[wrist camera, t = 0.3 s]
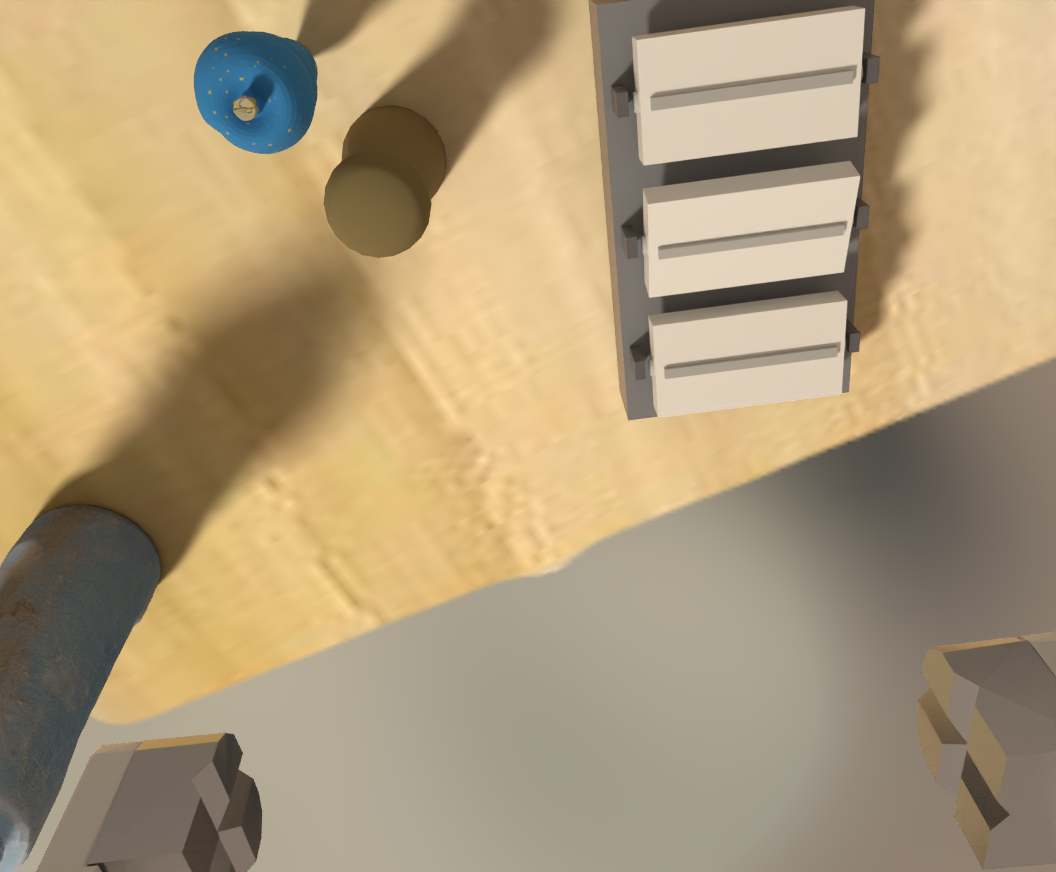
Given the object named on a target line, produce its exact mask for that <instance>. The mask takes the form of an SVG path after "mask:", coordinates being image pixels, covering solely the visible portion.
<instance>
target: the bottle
mask: <svg viewBox="0 0 1056 872" xmlns="http://www.w3.org/2000/svg"><path fill="white" fill-rule="evenodd" d="M160 574H161V566H160V557H159V555H158V552H157V550H156V548H155V546H154V544H153V542H152V541H151V540H150V539H149V538H148V536H147V534H145V533H144V532H143V531H142V530H141V529H140V528H139V527H138V526H136V525H135V524H133V523H132V522H131V521H129V520H128V519H126V518H124V517H123V516H121V515H119V514H117V513H114V512H112V511H109V510H105V509H102V508H99V507H93V506H88V505H71V506H63V507H60V508H57V509H54V510H51V511H49V512H46V513H44V514H42V515H41V516H40V517H38V518H37V519H36V520H35V521H33V523H32V524H31V525H30V526H29V527H28V528H27V529H26V530H25V532H24V533H23V534H22V536H21V537H20V539H19V540H18V541H17V542H16V544H15V545H14V546H13V547H12V549H11V550H10V552H9V553H8V555H7V556H6V558H5V559H4V561H3V563H2V565H1V567H0V872H14V871H16V870H17V869H18V868H19V867H20V866H21V865H22V864H23V863H24V862H25V860H26V859H27V858H28V856H29V854H30V852H31V850H32V848H33V846H34V844H35V842H36V840H37V838H38V836H39V834H40V832H41V829H42V827H43V825H44V823H45V821H46V819H47V817H48V815H49V812H50V811H51V808H52V806H53V804H54V802H55V800H56V798H57V796H58V794H59V791H60V789H61V787H62V784H63V781H64V778H65V775H66V772H67V769H68V766H69V763H70V760H71V758H72V755H73V753H74V750H75V747H76V744H77V741H78V738H79V736H80V734H81V732H82V730H83V728H84V726H85V724H86V722H87V720H88V717H89V715H90V713H91V711H92V709H93V707H94V705H95V704H96V702H97V699H98V697H99V695H100V693H101V691H102V689H103V687H104V685H105V683H106V681H107V679H108V677H109V675H110V673H111V670H112V668H113V666H114V663H115V661H116V659H117V657H118V656H119V654H120V652H121V650H122V648H123V646H124V644H125V642H126V640H127V638H128V636H129V634H130V632H131V630H132V628H133V627H134V626H135V625H136V624H137V623H139V622H140V621H141V619H142V617H143V615H144V613H145V611H146V609H147V607H148V605H149V603H150V601H151V599H152V597H153V594H154V591H155V589H156V587H157V585H158V582H159V578H160Z"/></svg>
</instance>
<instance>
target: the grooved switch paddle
mask: <svg viewBox="0 0 1056 872" xmlns="http://www.w3.org/2000/svg"><path fill="white" fill-rule="evenodd" d="M846 315H847V300H846V299H845V298H844V297H843V296H842V294H841V293H840V292H839V291H838V290H837V291H830V292H822V293H814V294H807V295H799V296H792V297H784V298H776V299H769V300H761V301H753V302H746V303H738V304H730V305H723V306H715V307H708V308H700V309H692V310H685V311H677V312H669V313H662V314H654V315H648V318H649V335H650V352H651V359H649V361H648V363H649V372H650V376H652V386H653V403H654V408H655V411H656V414H657V416H658V418H663V417H670V416H678V415H686V414H694V413H702V412H709V411H717V410H725V409H733V408H741V407H748V406H756V405H764V404H772V403H780V402H787V401H795V400H803V399H811V398H819V397H826V396H834V395H842V381H843V365H844V351H845V350H846V340H845V332H846Z"/></svg>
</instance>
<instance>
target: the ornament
mask: <svg viewBox="0 0 1056 872" xmlns="http://www.w3.org/2000/svg"><path fill="white" fill-rule="evenodd" d="M317 74H318V73H317V66H316V62H315V60H314V58H313V56H312V54H311V53H310V51H309V50H308V49H307V48H306V47H305V46H303V45H302V44H301V43H299V42H297V41H295V40H292V39H288V38H281V37H279V36H276V35H274V34H270V33H265V32H253V31H252V32H246V31H241V32H232V33H228V34H225V35H222V36H220V37H218V38H216V39H215V40H213V41H212V42H211V43H210V44H209V45H208V46H207V47H206V48H205V49H204V51H203V52H202V54H201V55H200V57H199V59H198V61H197V64H196V67H195V73H194V90H195V97H196V101H197V105H198V108H199V111H200V113H201V115H202V117H203V119H204V120H205V121H206V122H207V123H208V124H209V125H210V126H211V127H213V128H214V129H215V130H217V131H218V132H220V133H221V134H222V135H223V136H224V137H225V138H226V139H227V140H228V141H229V142H231V143H232V144H233V145H235V146H237V147H239V148H241V149H243V150H246V151H250V152H253V153H260V154H270V153H276V152H280V151H283V150H285V149H287V148H289V147H291V146H293V145H294V144H296V143H297V142H298V141H299V140H300V139H301V138H302V137H303V136H304V135H305V133H306V132H307V130H308V128H309V127H310V124H311V122H312V118H313V115H314V110H315V106H316V101H317Z"/></svg>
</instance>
